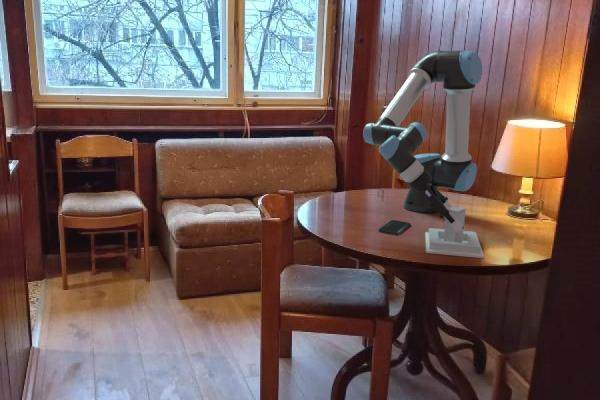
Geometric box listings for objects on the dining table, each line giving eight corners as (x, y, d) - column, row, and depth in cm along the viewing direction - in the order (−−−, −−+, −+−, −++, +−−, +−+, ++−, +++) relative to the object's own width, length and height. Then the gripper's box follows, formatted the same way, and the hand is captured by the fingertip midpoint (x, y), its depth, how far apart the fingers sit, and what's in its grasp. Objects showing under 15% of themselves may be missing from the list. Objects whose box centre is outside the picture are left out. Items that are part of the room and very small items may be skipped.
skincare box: (454, 246, 178) (457, 211, 175) (442, 243, 181) (445, 208, 178) (463, 242, 182) (466, 208, 179) (451, 239, 185) (454, 205, 182)
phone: (411, 223, 203) (398, 233, 190) (411, 226, 203) (397, 236, 190) (391, 219, 207) (377, 229, 194) (391, 222, 207) (377, 232, 194)
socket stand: (425, 234, 193) (425, 226, 192) (477, 238, 189) (478, 230, 188) (426, 252, 174) (426, 244, 173) (483, 258, 170) (484, 249, 169)
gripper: (407, 175, 191) (447, 219, 192) (406, 191, 167) (451, 241, 168) (424, 161, 189) (463, 206, 190) (425, 176, 165) (470, 227, 166)
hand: (458, 222), depth 179 cm, fingers open, 13 cm apart
